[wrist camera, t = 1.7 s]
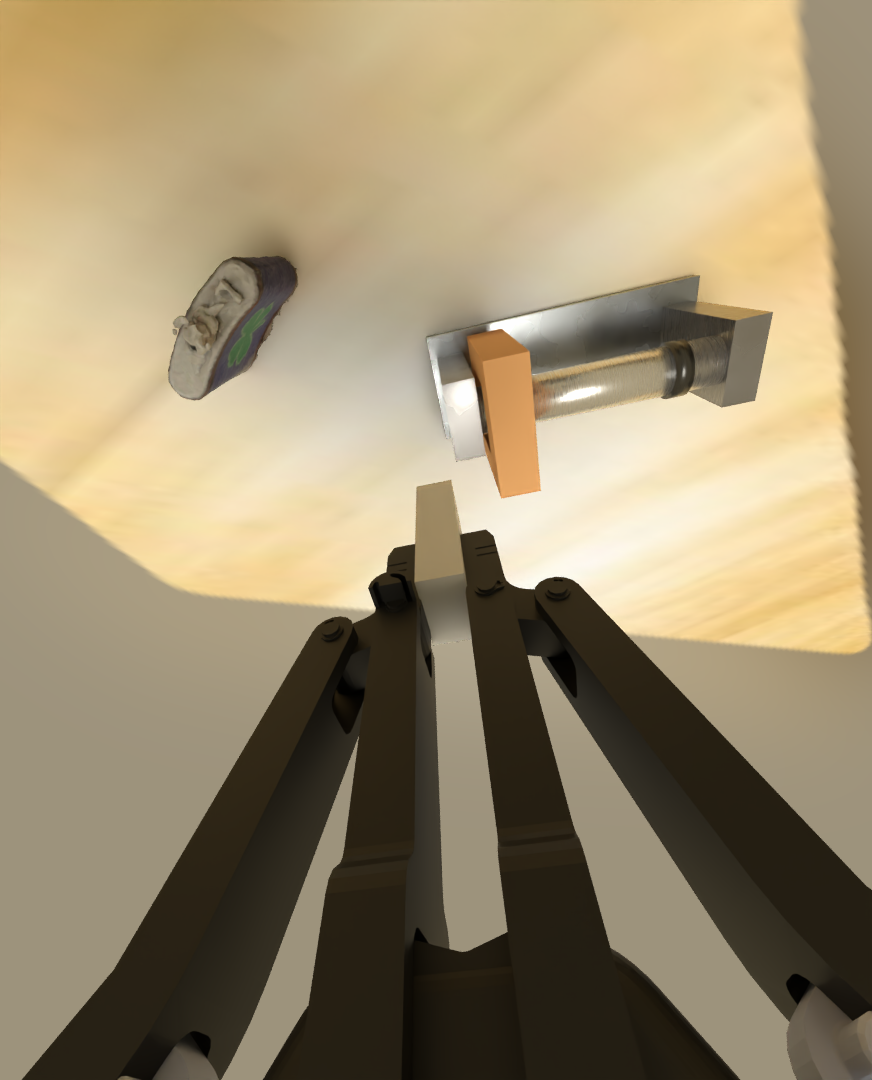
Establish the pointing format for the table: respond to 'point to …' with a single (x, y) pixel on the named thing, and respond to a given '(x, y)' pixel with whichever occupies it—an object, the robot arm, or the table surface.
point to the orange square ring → (507, 410)
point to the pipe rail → (610, 356)
